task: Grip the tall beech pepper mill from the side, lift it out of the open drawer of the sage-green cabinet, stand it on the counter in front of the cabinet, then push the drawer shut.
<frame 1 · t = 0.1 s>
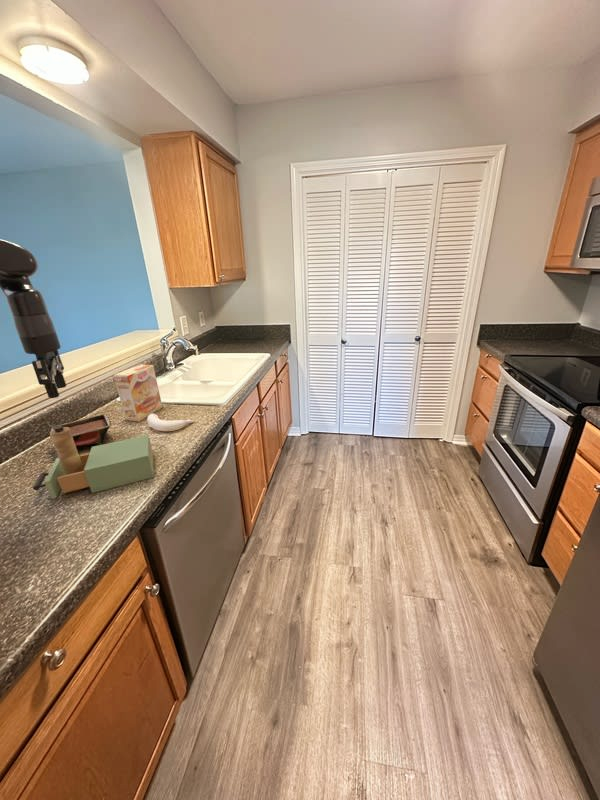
hand: (58, 392, 88), 26 cm above the countertop, tool pointing down, fingers open, 8 cm apart
cabinet: (125, 472, 97), on the countertop
drawer: (76, 472, 91), point 4 cm above the countertop, slide at 8.0 cm, touching pepper mill
baking dish: (86, 443, 115), on the countertop
banana: (169, 424, 127), on the countertop
pepper mill: (76, 477, 92), point 2 cm above the countertop, touching drawer
coffeecake box: (145, 413, 137), on the countertop
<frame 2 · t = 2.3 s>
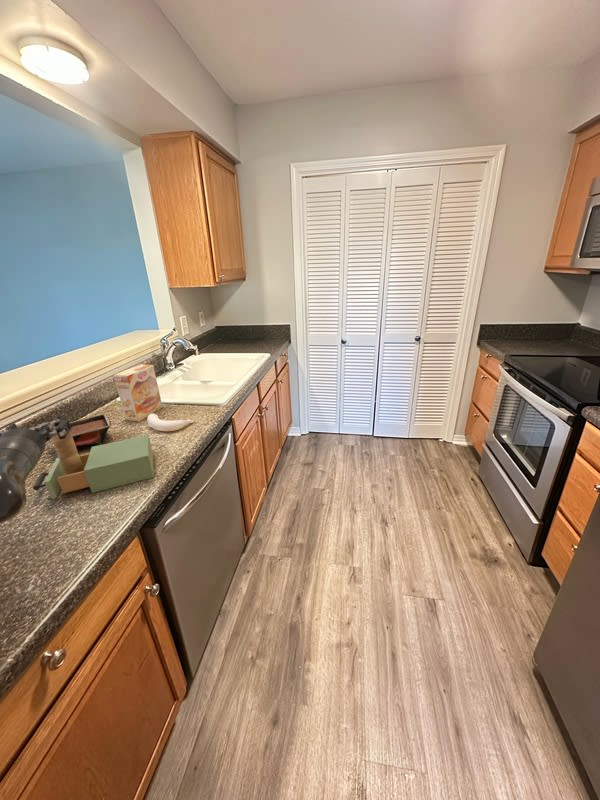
hand: (37, 422, 75), 24 cm above the countertop, tool horizontal, fingers open, 8 cm apart
nothing on the countertop moved.
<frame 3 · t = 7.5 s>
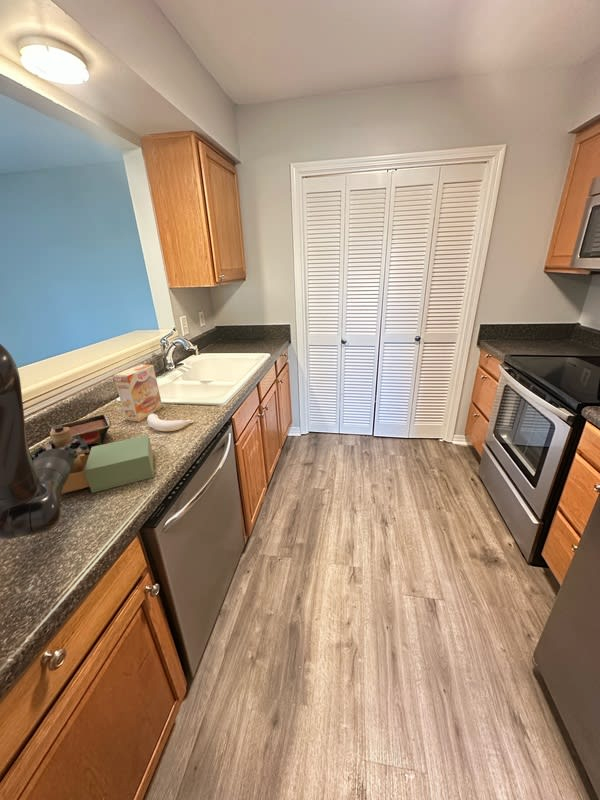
hand: (66, 439, 90), 13 cm above the countertop, tool horizontal, fingers closed on pepper mill, 4 cm apart
pepper mill: (76, 477, 92), point 2 cm above the countertop, touching drawer, gripper
everything else where it was.
when the fingers open (11 cm above the countertop, at t = 16.4 s): pepper mill stays where it is, on the countertop.
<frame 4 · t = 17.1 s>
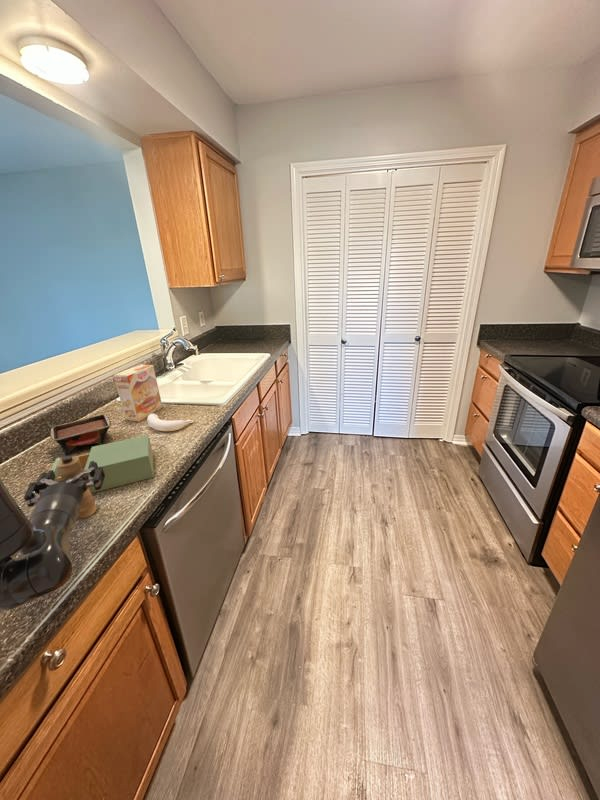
hand: (73, 468, 79), 12 cm above the countertop, tool horizontal, fingers open, 8 cm apart
drawer: (76, 472, 91), point 4 cm above the countertop, slide at 8.0 cm
pepper mill: (86, 512, 81), on the countertop
everything else where it was.
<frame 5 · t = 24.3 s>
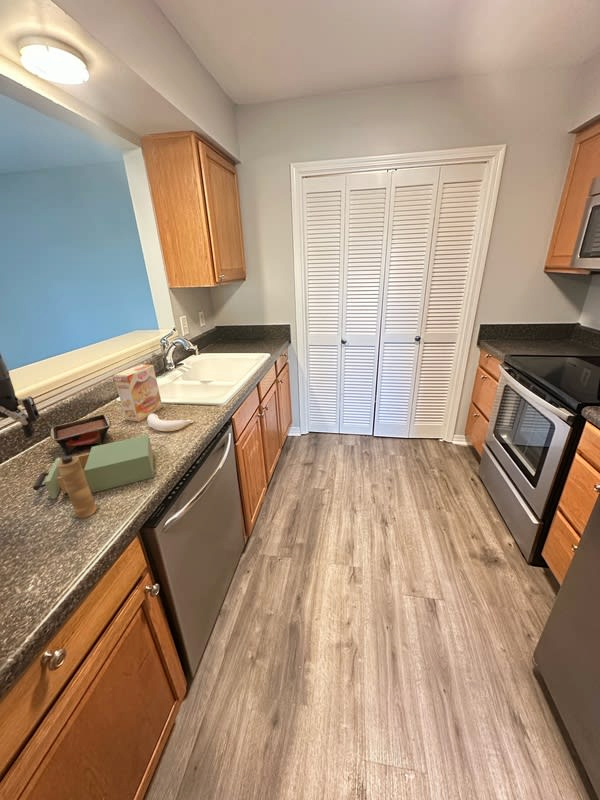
hand: (10, 439, 82), 18 cm above the countertop, tool pointing down, fingers open, 8 cm apart
nothing on the countertop moved.
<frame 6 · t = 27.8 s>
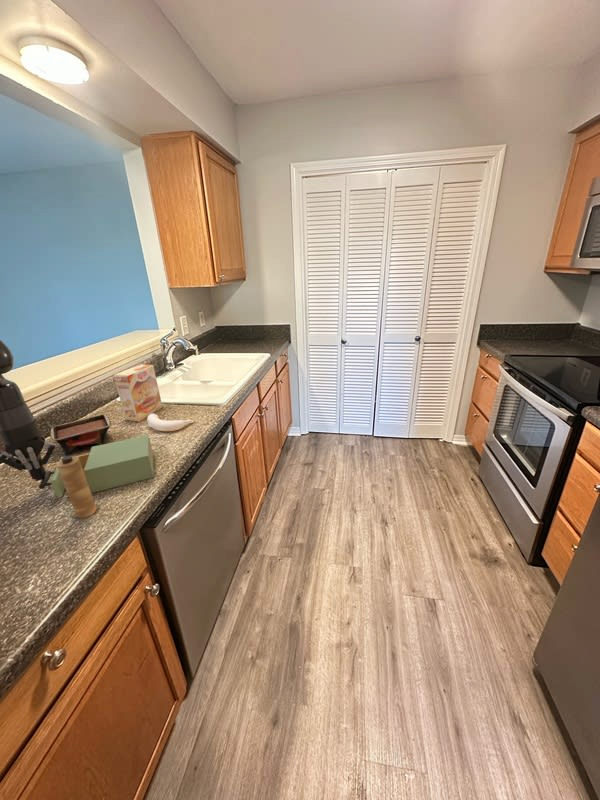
hand: (40, 478, 88), 4 cm above the countertop, tool pointing down, fingers closed
drawer: (81, 471, 92), point 4 cm above the countertop, slide at 6.7 cm, touching gripper
everything else where it was.
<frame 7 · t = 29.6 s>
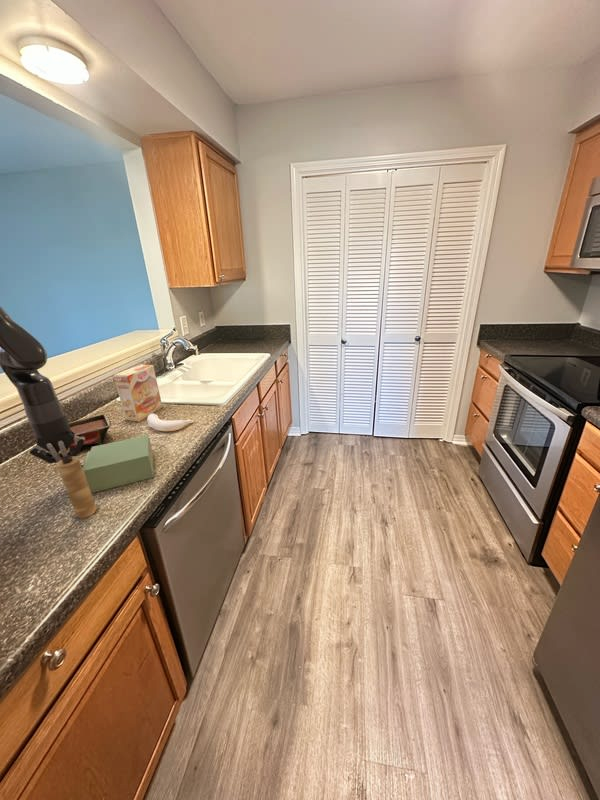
hand: (69, 471, 91), 4 cm above the countertop, tool pointing down, fingers closed
drawer: (108, 465, 94), point 4 cm above the countertop, slide at 0.0 cm, touching cabinet, gripper
everything else where it was.
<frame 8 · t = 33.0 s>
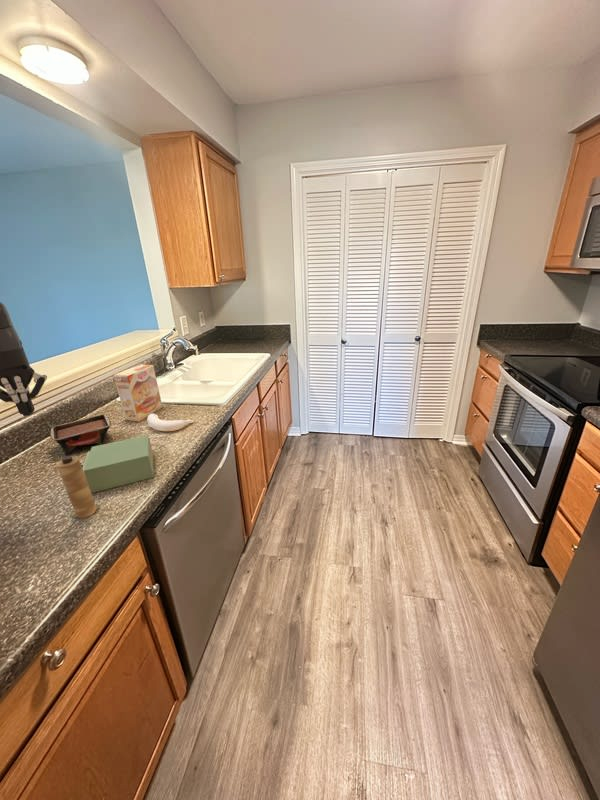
hand: (28, 414, 82), 23 cm above the countertop, tool pointing down, fingers closed
drawer: (108, 465, 94), point 4 cm above the countertop, slide at 0.0 cm
everything else where it was.
at the end: pepper mill inside the target area (0.1 cm from its centre), on the countertop; pepper mill tilted 0°; drawer slide at 0.0 cm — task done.
